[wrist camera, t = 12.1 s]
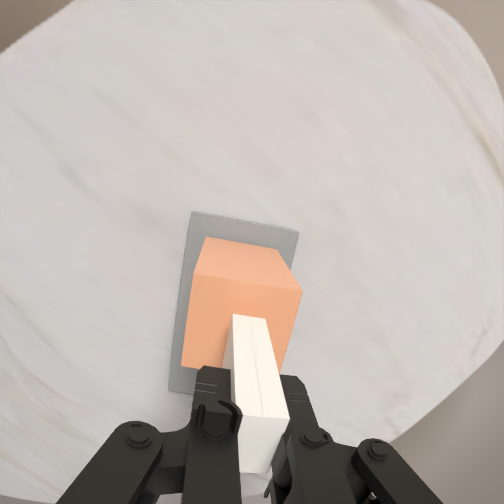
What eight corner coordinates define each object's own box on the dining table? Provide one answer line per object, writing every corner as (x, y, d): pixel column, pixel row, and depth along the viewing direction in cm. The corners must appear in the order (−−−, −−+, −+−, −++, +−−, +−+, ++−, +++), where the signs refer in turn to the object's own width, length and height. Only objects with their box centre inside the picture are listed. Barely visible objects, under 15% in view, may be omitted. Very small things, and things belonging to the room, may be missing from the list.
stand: (169, 386, 27) (153, 457, 18) (192, 211, 23) (171, 234, 15) (254, 398, 28) (264, 471, 19) (297, 231, 24) (334, 264, 16)
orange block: (195, 302, 24) (180, 365, 16) (205, 236, 23) (193, 273, 15) (261, 313, 25) (277, 379, 16) (276, 249, 24) (302, 291, 15)
